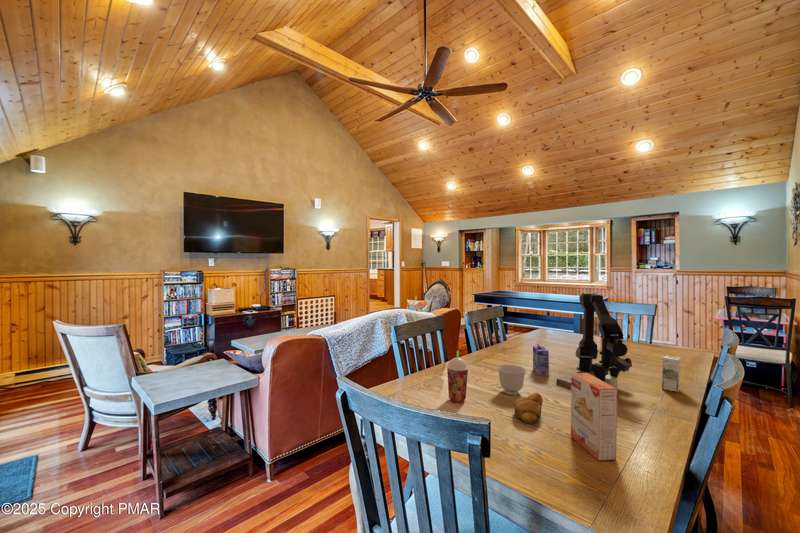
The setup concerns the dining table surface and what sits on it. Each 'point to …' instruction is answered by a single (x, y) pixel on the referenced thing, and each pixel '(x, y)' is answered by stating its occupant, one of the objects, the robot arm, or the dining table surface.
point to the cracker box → (594, 415)
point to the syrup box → (671, 373)
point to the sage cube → (611, 381)
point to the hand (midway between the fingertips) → (608, 385)
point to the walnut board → (565, 381)
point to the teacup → (511, 378)
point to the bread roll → (529, 408)
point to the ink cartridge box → (541, 360)
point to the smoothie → (457, 379)
